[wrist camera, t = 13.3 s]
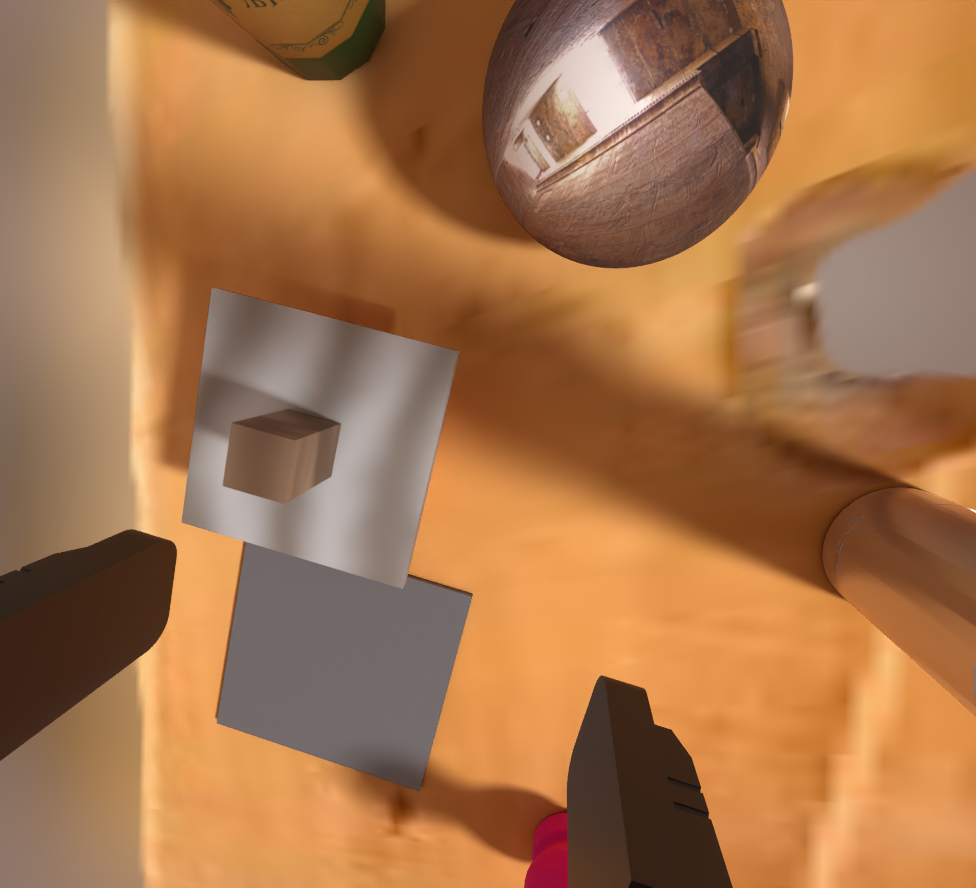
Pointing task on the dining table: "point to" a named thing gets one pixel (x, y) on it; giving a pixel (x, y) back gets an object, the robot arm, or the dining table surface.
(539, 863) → the pepper mill
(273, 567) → the mat
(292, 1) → the bottle
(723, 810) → the dining table surface
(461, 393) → the dining table surface
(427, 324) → the dining table surface
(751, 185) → the brown ball
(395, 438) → the lid
